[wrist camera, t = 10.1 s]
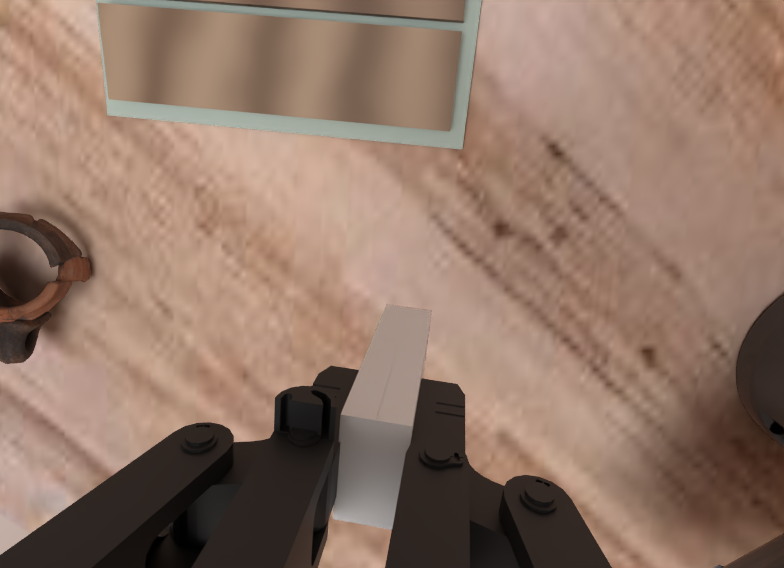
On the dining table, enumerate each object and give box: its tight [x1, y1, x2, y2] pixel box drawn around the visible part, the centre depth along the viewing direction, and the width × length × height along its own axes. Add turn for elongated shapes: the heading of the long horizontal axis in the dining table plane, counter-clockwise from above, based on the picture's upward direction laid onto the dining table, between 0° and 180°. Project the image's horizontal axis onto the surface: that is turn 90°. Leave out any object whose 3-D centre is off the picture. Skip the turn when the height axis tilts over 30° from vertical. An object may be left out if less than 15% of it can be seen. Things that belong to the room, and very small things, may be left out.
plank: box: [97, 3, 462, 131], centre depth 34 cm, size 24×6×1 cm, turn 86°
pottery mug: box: [0, 212, 90, 364], centre depth 40 cm, size 12×10×8 cm
